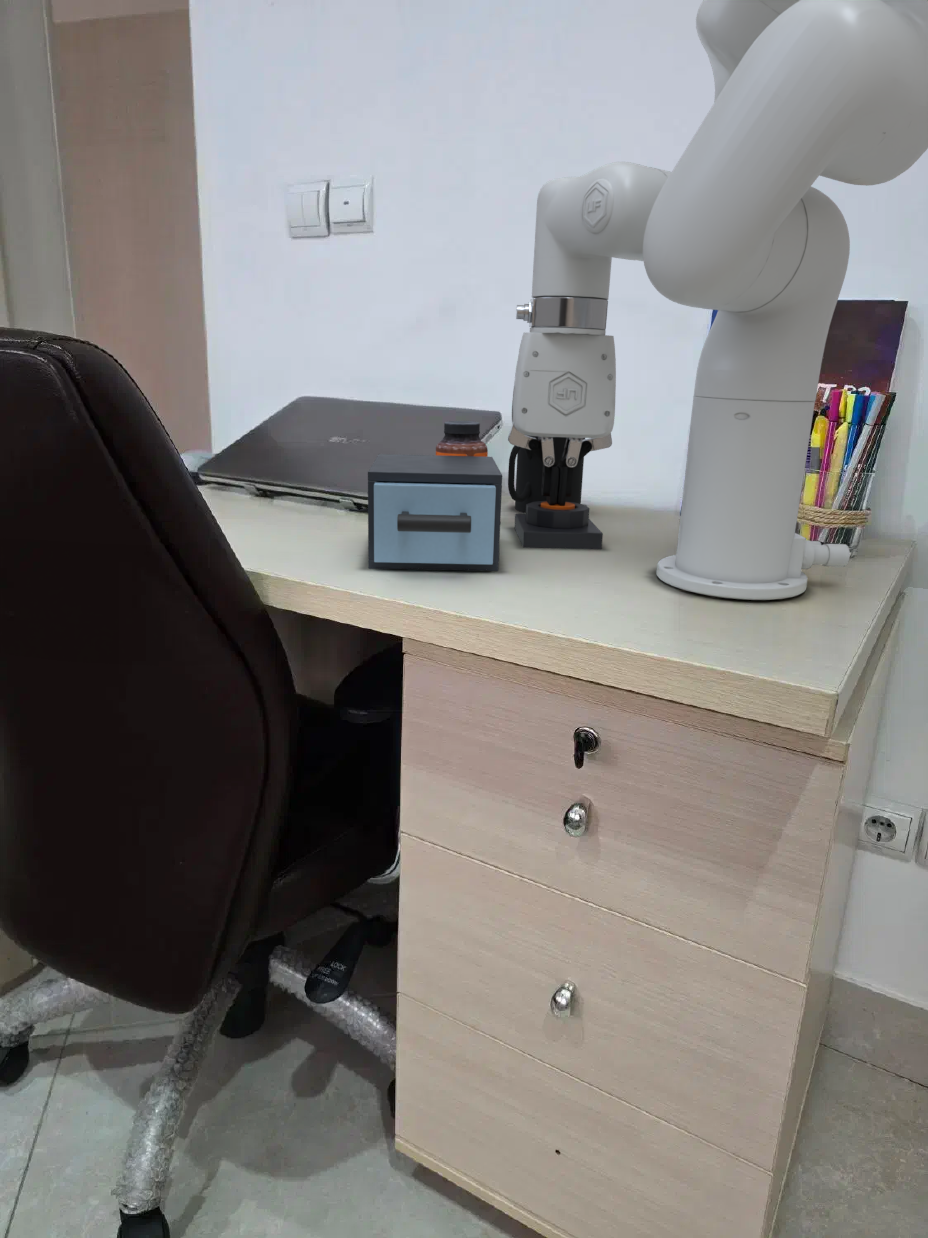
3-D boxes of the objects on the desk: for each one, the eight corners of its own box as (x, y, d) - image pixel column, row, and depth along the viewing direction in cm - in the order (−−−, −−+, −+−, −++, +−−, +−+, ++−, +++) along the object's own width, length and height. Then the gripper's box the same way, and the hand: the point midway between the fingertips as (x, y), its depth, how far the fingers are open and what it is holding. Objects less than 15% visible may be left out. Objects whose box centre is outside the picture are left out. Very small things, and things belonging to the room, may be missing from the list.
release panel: (584, 529, 93) (587, 499, 92) (601, 549, 84) (604, 515, 83) (514, 528, 93) (515, 497, 92) (523, 547, 83) (524, 513, 82)
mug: (481, 512, 102) (484, 426, 99) (541, 502, 110) (546, 422, 107) (534, 522, 97) (539, 431, 94) (593, 510, 105) (599, 427, 102)
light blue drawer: (496, 577, 68) (499, 495, 66) (370, 574, 68) (369, 492, 66) (485, 535, 84) (487, 468, 82) (383, 533, 84) (382, 465, 82)
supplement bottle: (487, 518, 98) (491, 420, 95) (484, 528, 93) (487, 424, 89) (437, 516, 99) (439, 418, 95) (431, 525, 93) (432, 422, 90)
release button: (571, 517, 90) (572, 501, 89) (576, 523, 86) (577, 507, 86) (537, 516, 89) (538, 500, 89) (542, 523, 86) (543, 506, 85)
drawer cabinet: (498, 571, 74) (502, 474, 71) (368, 568, 74) (367, 471, 71) (489, 539, 87) (492, 456, 84) (378, 537, 87) (378, 453, 84)
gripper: (495, 314, 78) (487, 507, 84) (652, 320, 79) (633, 512, 84) (490, 317, 85) (483, 495, 91) (634, 323, 86) (618, 499, 91)
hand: (555, 502), depth 88 cm, fingers closed
